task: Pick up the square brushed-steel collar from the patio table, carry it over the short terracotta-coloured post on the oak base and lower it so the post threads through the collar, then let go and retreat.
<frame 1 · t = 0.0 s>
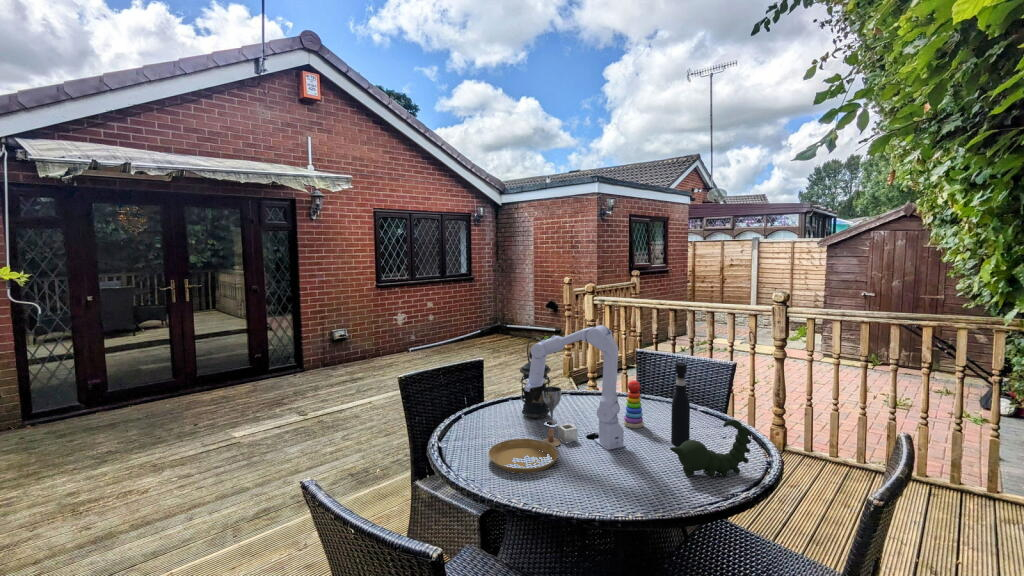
hand: (532, 403, 192), 11 cm above the table, tool pointing down, fingers open, 6 cm apart
toy figurine: (709, 474, 152), on the table
post stand: (551, 443, 178), on the table
plant saucer: (523, 461, 164), on the table
stacking toy: (633, 426, 194), on the table
collar: (567, 439, 181), on the table
wine glass: (551, 424, 198), on the table, touching gripper
lantern: (535, 416, 208), on the table
wine bottle: (680, 444, 176), on the table
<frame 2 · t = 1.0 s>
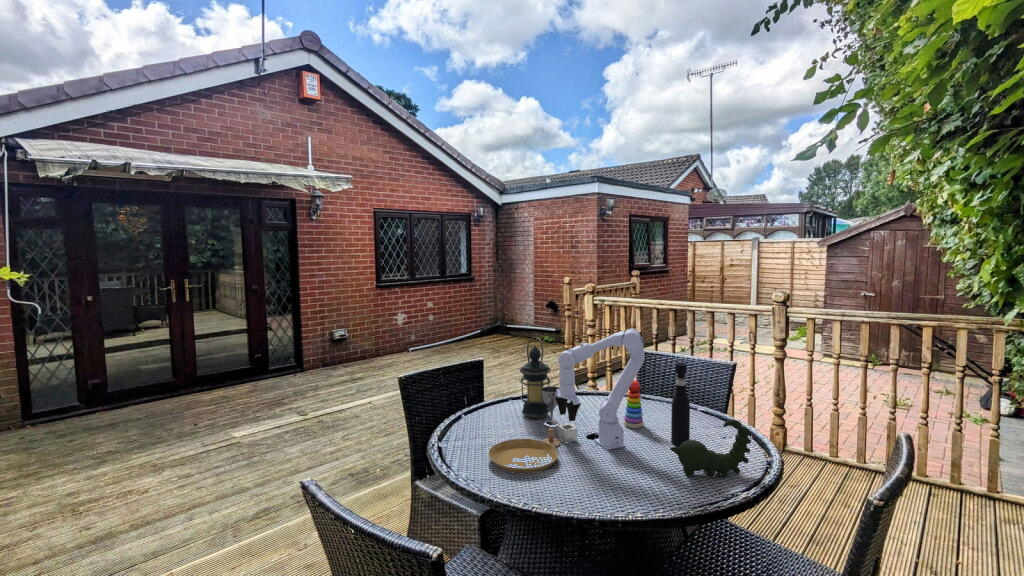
hand: (567, 417, 181), 9 cm above the table, tool pointing down, fingers open, 7 cm apart
wine glass: (551, 424, 198), on the table
everything else where it was.
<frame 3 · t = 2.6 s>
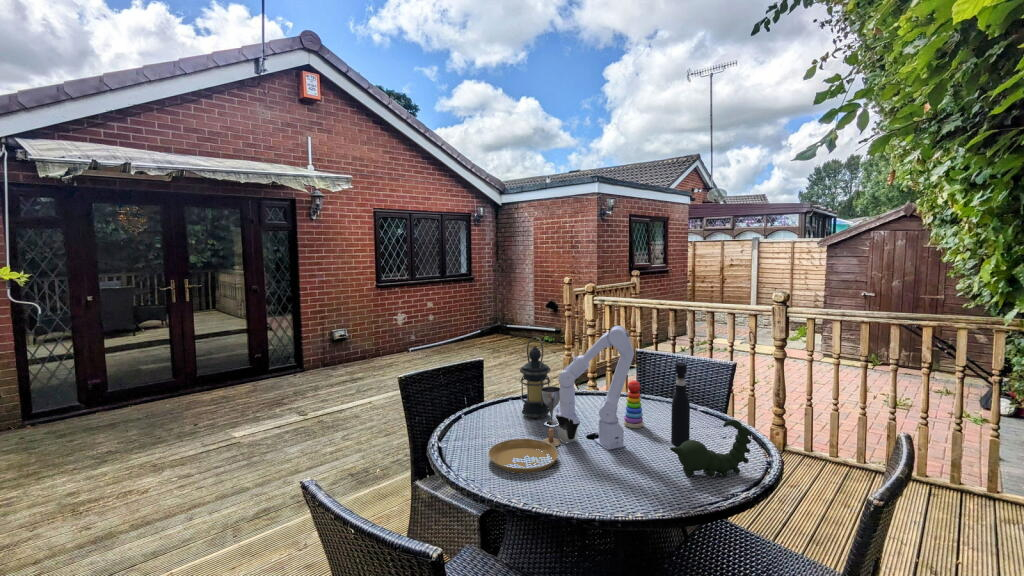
hand: (567, 436, 181), 1 cm above the table, tool pointing down, fingers closed on collar, 5 cm apart
collar: (567, 439, 181), on the table, touching gripper
everything else where it was.
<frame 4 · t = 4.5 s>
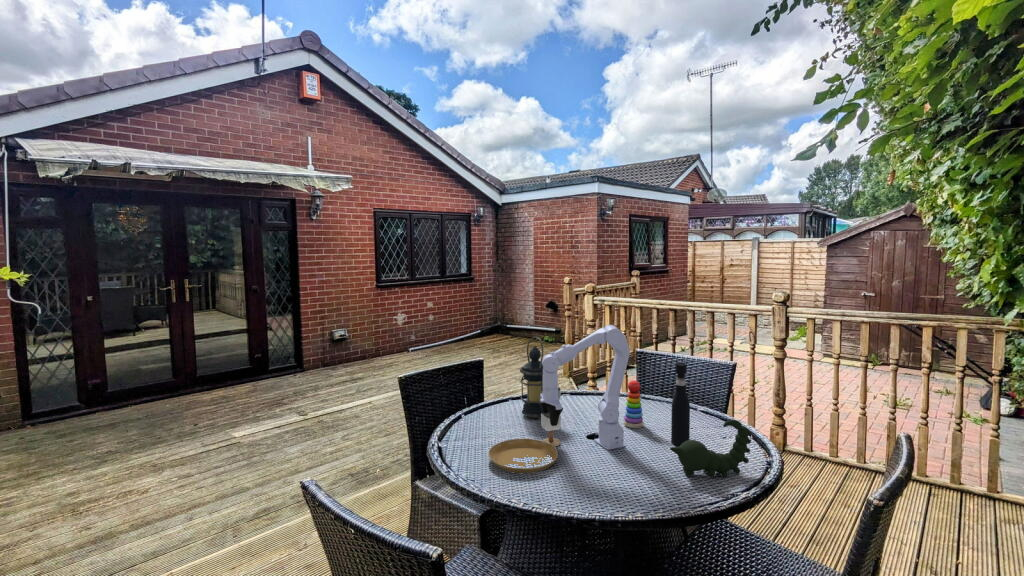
hand: (550, 422, 177), 8 cm above the table, tool pointing down, fingers closed on collar, 5 cm apart
collar: (551, 427, 177), point 6 cm above the table, touching gripper
everything else where it was.
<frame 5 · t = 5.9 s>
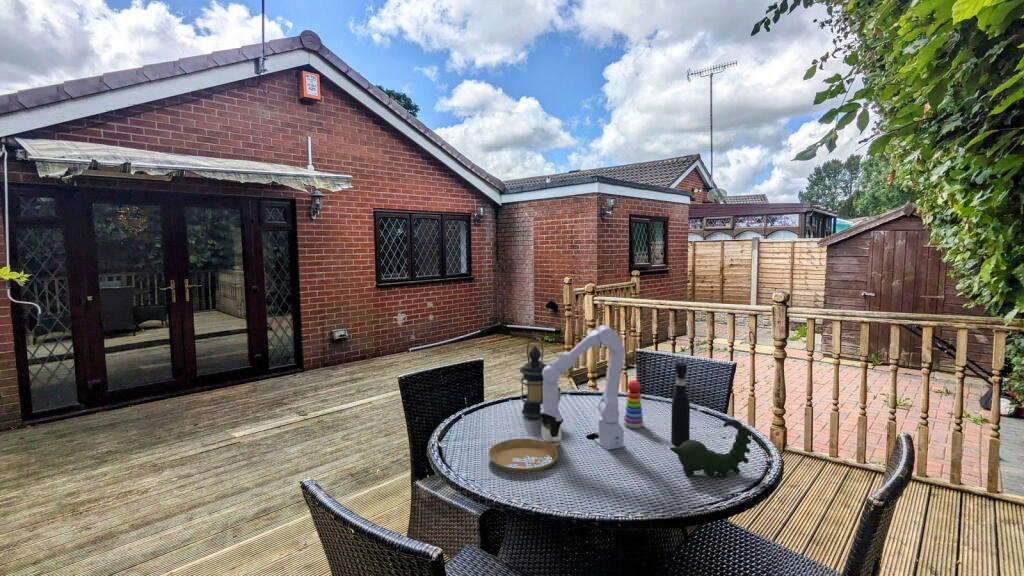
hand: (551, 433, 177), 4 cm above the table, tool pointing down, fingers closed on collar, 5 cm apart
collar: (551, 438, 178), point 2 cm above the table, touching gripper
everything else where it was.
when the fingers open (4 cm above the table, at t = 6.6 s): collar drops 1 cm, resting on post stand.
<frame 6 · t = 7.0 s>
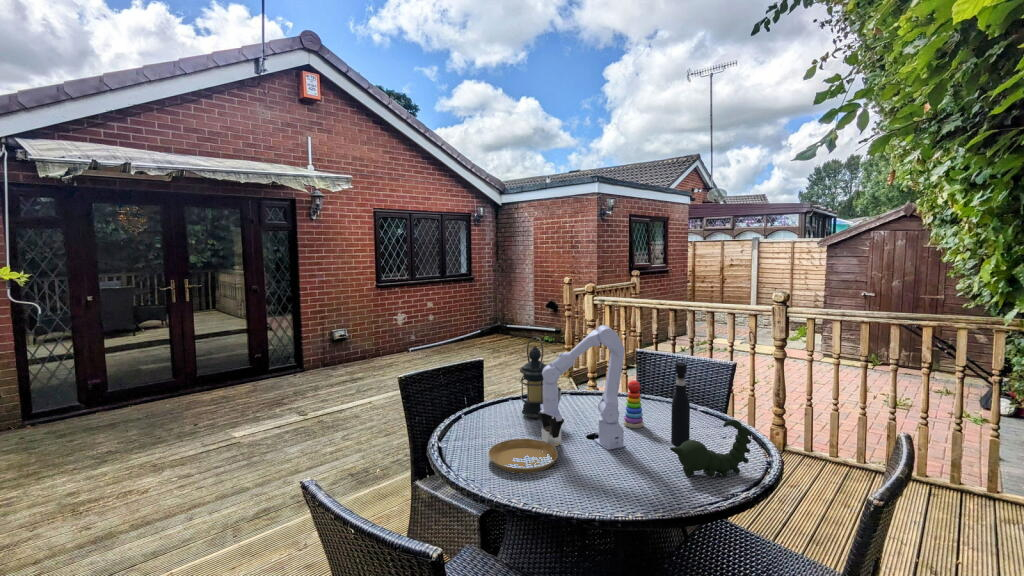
hand: (551, 433, 177), 4 cm above the table, tool pointing down, fingers open, 7 cm apart
collar: (551, 441, 178), point 1 cm above the table, touching post stand
everything else where it was.
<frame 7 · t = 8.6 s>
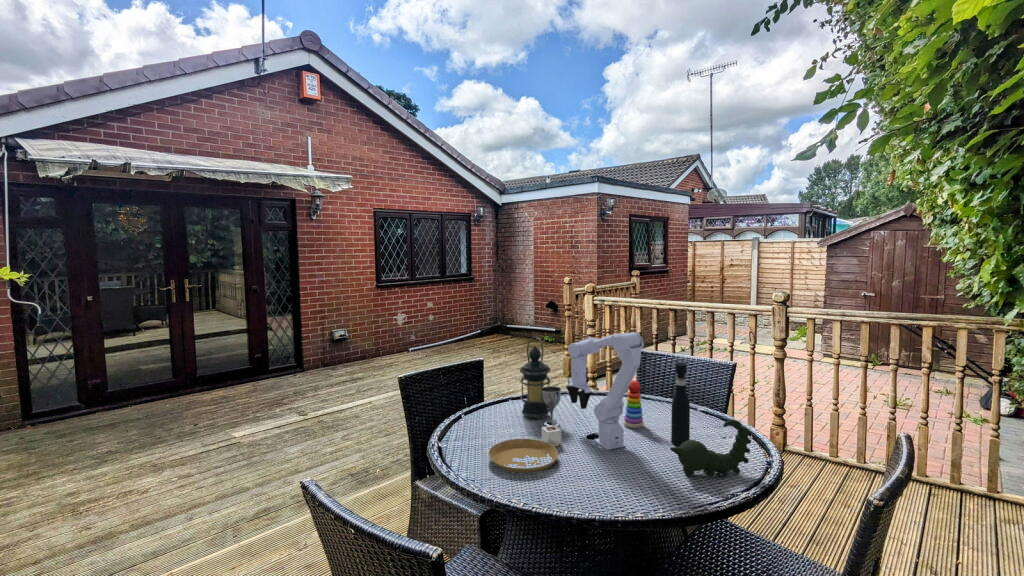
hand: (578, 405, 189), 10 cm above the table, tool pointing down, fingers open, 7 cm apart
nothing on the table moved.
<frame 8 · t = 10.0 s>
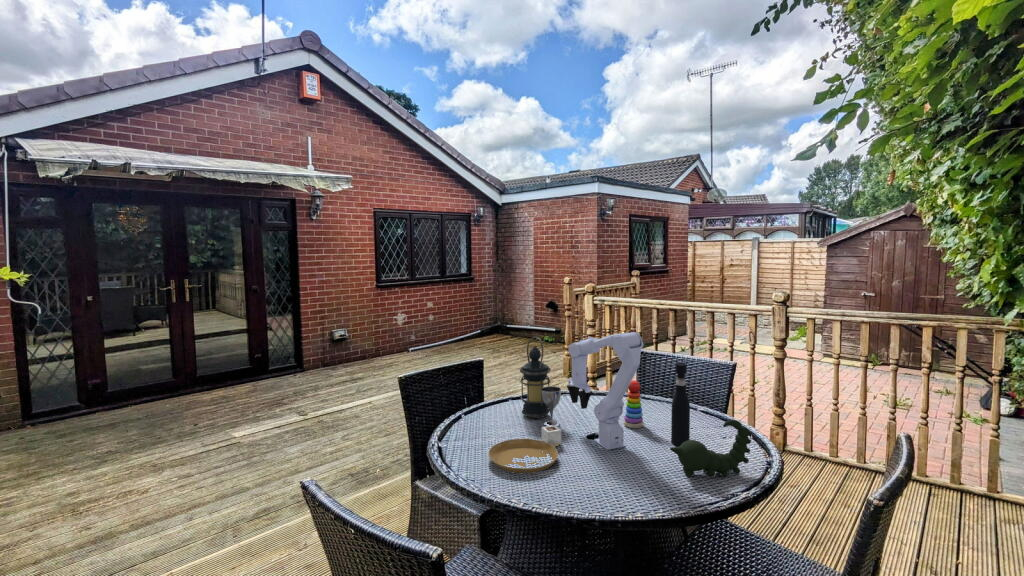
hand: (579, 405, 189), 10 cm above the table, tool pointing down, fingers open, 7 cm apart
nothing on the table moved.
at the end: collar 0.1 cm off-centre on the post stand, point 0.8 cm above the post stand's base; the gripper is holding nothing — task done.
